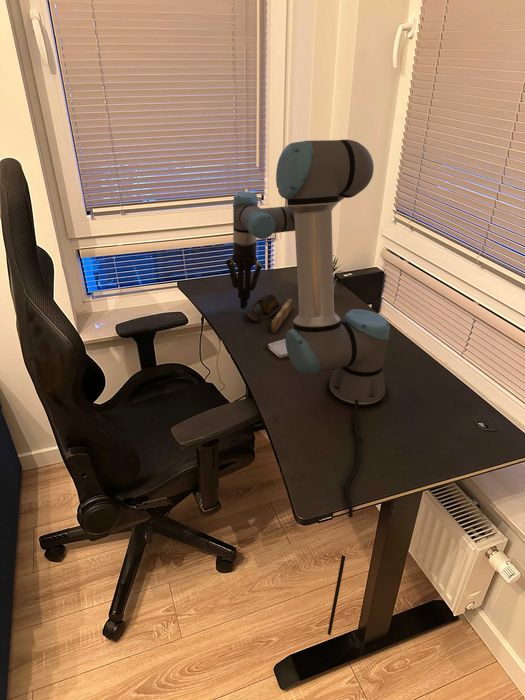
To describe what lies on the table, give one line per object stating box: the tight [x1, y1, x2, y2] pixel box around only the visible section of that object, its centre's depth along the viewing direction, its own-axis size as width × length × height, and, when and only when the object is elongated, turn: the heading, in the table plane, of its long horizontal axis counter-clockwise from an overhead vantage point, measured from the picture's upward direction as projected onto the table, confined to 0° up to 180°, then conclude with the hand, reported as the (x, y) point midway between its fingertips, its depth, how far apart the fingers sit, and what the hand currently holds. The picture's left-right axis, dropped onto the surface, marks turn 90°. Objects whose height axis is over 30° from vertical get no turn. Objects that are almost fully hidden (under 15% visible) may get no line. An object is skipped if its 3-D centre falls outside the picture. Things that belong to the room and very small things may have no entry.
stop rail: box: [270, 298, 293, 334], centre depth 171 cm, size 18×1×4 cm, turn 159°
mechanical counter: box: [246, 293, 283, 323], centre depth 173 cm, size 7×13×10 cm
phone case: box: [267, 338, 289, 359], centre depth 157 cm, size 7×1×15 cm
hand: (243, 306), depth 175 cm, fingers closed
